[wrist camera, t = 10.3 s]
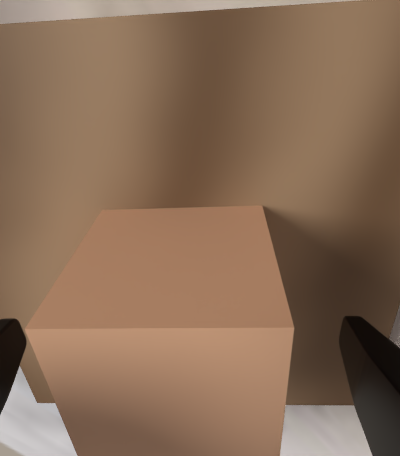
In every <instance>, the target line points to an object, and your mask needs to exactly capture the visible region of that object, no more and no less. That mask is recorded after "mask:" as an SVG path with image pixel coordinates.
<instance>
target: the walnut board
mask: <svg viewBox="0 0 400 456" xmlns="http://www.w3.org/2000/svg"><path fill="white" fill-rule="evenodd" d="M228 206H262V207H263V210H264V214H265V218H266V222H267V226H268V229H269V233H270V237H271V241H272V245H273V248H274V252H275V256H276V260H277V264H278V268H279V271H280V275H281V279H282V283H283V287H284V290H285V294H286V298H287V302H288V306H289V309H290V313H291V317H292V321H293V325H294V334H293V343H292V352H291V360H290V369H289V378H288V387H287V395H286V404H285V405H354V403H353V399H352V395H351V392H350V387H349V383H348V379H347V375H346V371H345V367H344V363H343V359H342V355H341V351H340V347H339V335H340V330H341V325H342V320H343V318H344V317H345V316H361V317H363V318H364V319H365V320H366V321H367V322H369V323H370V324H371V325H372V326H374V327H375V328H376V329H377V330H378V331H380V332H381V333H382V334H383V335H385V336H386V337H387V338H388V339H389V337H390V334H391V330H392V327H393V324H394V321H395V317H396V314H397V311H398V308H399V304H400V0H362V1H347V2H331V3H316V4H301V5H285V6H270V7H255V8H240V9H224V10H209V11H194V12H179V13H163V14H148V15H133V16H117V17H102V18H87V19H72V20H56V21H41V22H26V23H11V24H0V319H4V318H15V319H17V320H18V321H19V322H20V325H21V327H22V329H23V332H24V334H25V336H26V340H27V345H26V349H25V352H24V354H23V357H22V360H21V363H20V367H21V369H22V371H23V373H24V375H25V377H26V380H27V382H28V384H29V386H30V388H31V390H32V393H33V395H34V397H35V399H36V401H37V403H55V401H54V398H53V396H52V393H51V391H50V389H49V386H48V384H47V381H46V379H45V377H44V374H43V372H42V370H41V367H40V365H39V362H38V360H37V358H36V355H35V353H34V350H33V348H32V346H31V343H30V341H29V339H28V336H27V334H26V331H25V328H26V326H27V325H28V323H29V321H30V320H31V318H32V317H33V315H34V314H35V312H36V311H37V309H38V308H39V306H40V305H41V303H42V301H43V300H44V298H45V297H46V295H47V294H48V292H49V291H50V289H51V288H52V286H53V285H54V283H55V281H56V280H57V278H58V277H59V275H60V274H61V272H62V271H63V269H64V268H65V266H66V265H67V263H68V261H69V260H70V258H71V257H72V255H73V254H74V252H75V251H76V249H77V248H78V246H79V245H80V243H81V242H82V240H83V238H84V237H85V235H86V234H87V232H88V231H89V229H90V228H91V226H92V225H93V223H94V222H95V220H96V218H97V217H98V215H99V214H100V212H101V211H102V210H120V209H156V208H192V207H228Z"/></svg>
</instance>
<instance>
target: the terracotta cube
mask: <svg viewBox="0 0 400 456" xmlns="http://www.w3.org/2000/svg"><path fill="white" fill-rule="evenodd" d="M25 331H26V334H27V336H28V339H29V341H30V343H31V346H32V348H33V350H34V353H35V355H36V358H37V360H38V362H39V365H40V367H41V370H42V372H43V374H44V377H45V379H46V381H47V384H48V386H49V389H50V391H51V393H52V396H53V398H54V401H55V403H56V405H57V408H58V410H59V412H60V415H61V417H62V420H63V422H64V424H65V427H66V429H67V432H68V434H69V436H70V439H71V441H72V443H73V446H74V448H75V451H76V453H77V455H78V456H280V448H281V439H282V430H283V422H284V413H285V404H286V395H287V387H288V378H289V369H290V360H291V352H292V343H293V334H294V325H293V321H292V317H291V313H290V309H289V306H288V302H287V298H286V294H285V290H284V287H283V283H282V279H281V275H280V271H279V268H278V264H277V260H276V256H275V252H274V248H273V245H272V241H271V237H270V233H269V229H268V226H267V222H266V218H265V214H264V210H263V207H262V206H228V207H192V208H156V209H120V210H102V211H101V212H100V214H99V215H98V217H97V218H96V220H95V222H94V223H93V225H92V226H91V228H90V229H89V231H88V232H87V234H86V235H85V237H84V238H83V240H82V242H81V243H80V245H79V246H78V248H77V249H76V251H75V252H74V254H73V255H72V257H71V258H70V260H69V261H68V263H67V265H66V266H65V268H64V269H63V271H62V272H61V274H60V275H59V277H58V278H57V280H56V281H55V283H54V285H53V286H52V288H51V289H50V291H49V292H48V294H47V295H46V297H45V298H44V300H43V301H42V303H41V305H40V306H39V308H38V309H37V311H36V312H35V314H34V315H33V317H32V318H31V320H30V321H29V323H28V325H27V326H26V328H25Z"/></svg>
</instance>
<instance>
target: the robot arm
mask: <svg viewBox="0 0 400 456" xmlns="http://www.w3.org/2000/svg"><path fill="white" fill-rule="evenodd" d="M26 345H27V340H26V336H25V334H24V332H23V329H22V327H21V325H20V322H19V321H18V320H17V319H15V318H4V319H0V414H1V412H2V410H3V408H4V405H5V403H6V401H7V398H8V396H9V393H10V391H11V388H12V385H13V382H14V380H15V377H16V374H17V371H18V368H19V366H20V363H21V360H22V357H23V354H24V352H25V349H26ZM339 347H340V351H341V355H342V359H343V363H344V367H345V371H346V375H347V379H348V383H349V387H350V392H351V395H352V399H353V403H354V406H355V409H356V412H357V414H358V417H359V420H360V423H361V425H362V428H363V431H364V433H365V436H366V439H367V442H368V444H369V447H370V450H371V453H372V455H373V456H400V348H399V347H398V346H397V345H395V344H394V343H393V342H392V341H391V340H389V339H388V338H387V337H386V336H385V335H383V334H382V333H381V332H380V331H378V330H377V329H376V328H375V327H374V326H372V325H371V324H370V323H369V322H367V321H366V320H365V319H364V318H363V317H361V316H345V317H344V318H343V320H342V325H341V330H340V335H339Z"/></svg>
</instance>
